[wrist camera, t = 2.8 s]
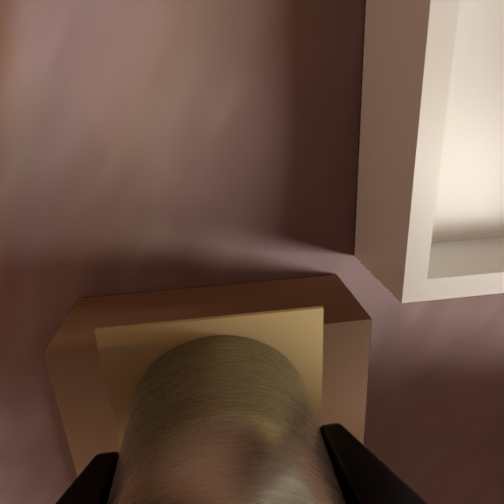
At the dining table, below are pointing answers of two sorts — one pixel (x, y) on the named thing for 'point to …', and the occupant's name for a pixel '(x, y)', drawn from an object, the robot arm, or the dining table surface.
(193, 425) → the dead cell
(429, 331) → the dining table surface
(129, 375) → the cradle
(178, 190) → the dining table surface
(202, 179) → the dining table surface
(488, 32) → the trough tray
